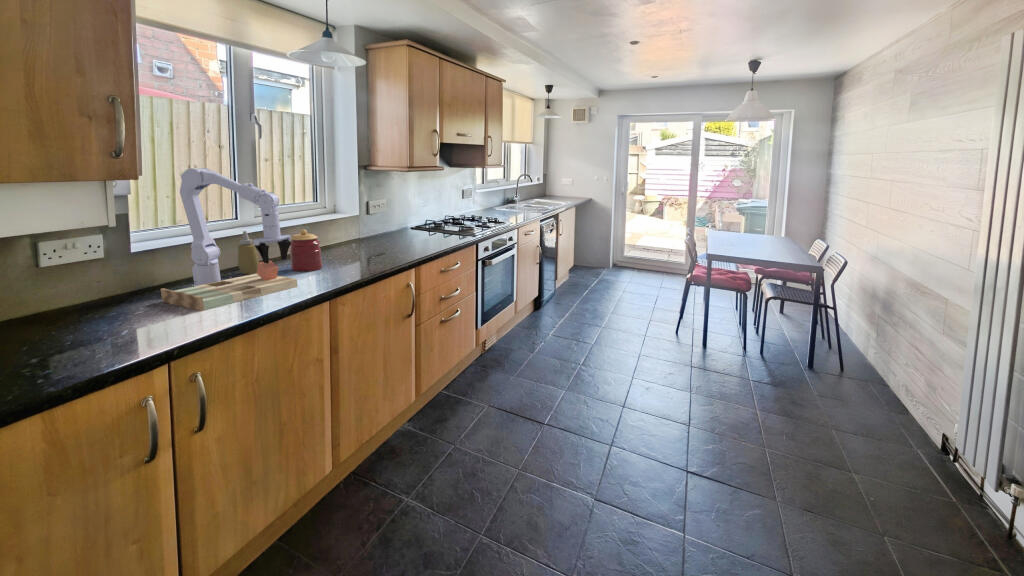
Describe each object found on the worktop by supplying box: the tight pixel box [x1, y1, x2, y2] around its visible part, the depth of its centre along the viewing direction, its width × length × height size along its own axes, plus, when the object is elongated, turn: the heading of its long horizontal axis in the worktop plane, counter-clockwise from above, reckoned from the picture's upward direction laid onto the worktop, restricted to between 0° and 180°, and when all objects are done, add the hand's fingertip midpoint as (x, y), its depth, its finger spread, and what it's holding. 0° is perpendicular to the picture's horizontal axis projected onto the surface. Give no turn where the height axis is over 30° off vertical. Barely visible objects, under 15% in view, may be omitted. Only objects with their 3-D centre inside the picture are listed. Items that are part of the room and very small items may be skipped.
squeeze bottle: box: [237, 230, 260, 275], centre depth 211 cm, size 8×8×18 cm
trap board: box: [160, 273, 299, 312], centre depth 180 cm, size 22×37×4 cm, turn 152°
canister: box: [289, 229, 323, 273], centre depth 220 cm, size 13×13×18 cm
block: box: [257, 260, 279, 281], centre depth 190 cm, size 5×5×5 cm
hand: (275, 261), depth 190 cm, fingers open, 7 cm apart
